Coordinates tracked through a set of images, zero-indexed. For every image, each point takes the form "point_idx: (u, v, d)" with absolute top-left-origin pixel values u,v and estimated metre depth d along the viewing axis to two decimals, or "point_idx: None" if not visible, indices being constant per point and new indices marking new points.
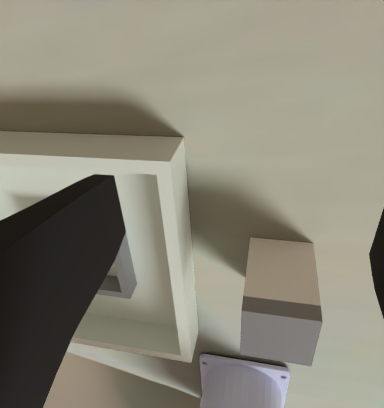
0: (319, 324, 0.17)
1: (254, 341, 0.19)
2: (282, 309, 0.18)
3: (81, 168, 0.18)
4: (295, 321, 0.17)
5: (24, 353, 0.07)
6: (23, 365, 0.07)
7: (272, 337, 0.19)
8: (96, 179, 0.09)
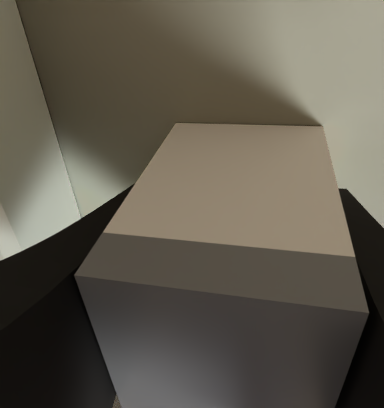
0: (356, 324, 0.04)
1: (146, 376, 0.06)
2: (218, 270, 0.05)
3: None
4: (261, 313, 0.05)
5: (96, 366, 0.06)
6: (95, 379, 0.06)
7: (194, 366, 0.06)
8: None
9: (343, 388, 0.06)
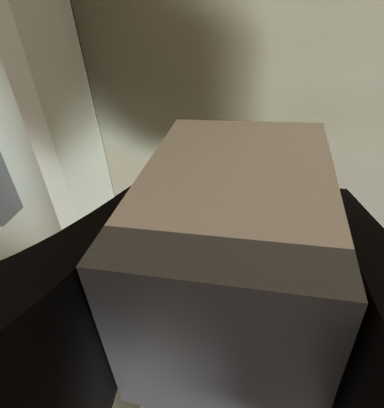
0: (354, 315, 0.04)
1: (147, 368, 0.06)
2: (218, 262, 0.05)
3: None
4: (261, 305, 0.05)
5: (95, 366, 0.06)
6: (94, 379, 0.06)
7: (195, 358, 0.06)
8: None
9: (343, 388, 0.06)
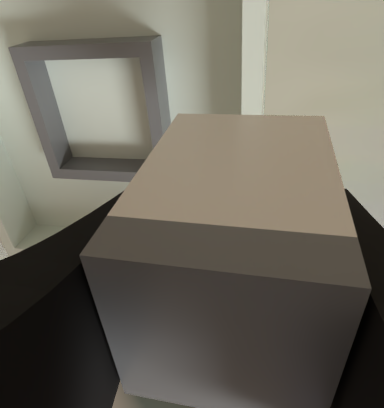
0: (358, 300, 0.04)
1: (150, 359, 0.06)
2: (222, 250, 0.05)
3: None
4: (265, 291, 0.05)
5: (95, 366, 0.06)
6: (94, 379, 0.06)
7: (198, 348, 0.06)
8: None
9: (343, 388, 0.06)
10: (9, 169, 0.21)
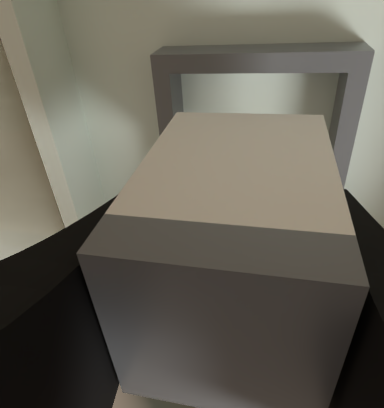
0: (356, 299, 0.04)
1: (147, 358, 0.06)
2: (219, 248, 0.05)
3: None
4: (262, 290, 0.05)
5: (96, 366, 0.06)
6: (95, 379, 0.06)
7: (195, 347, 0.06)
8: None
9: (343, 388, 0.06)
10: (102, 203, 0.17)
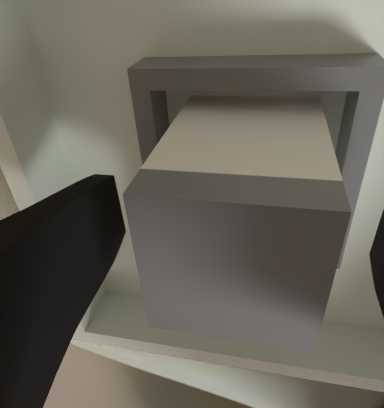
0: (341, 223, 0.06)
1: (173, 290, 0.08)
2: (235, 189, 0.06)
3: None
4: (270, 219, 0.06)
5: (24, 353, 0.07)
6: (23, 365, 0.07)
7: (214, 276, 0.07)
8: (96, 179, 0.09)
9: None
10: None
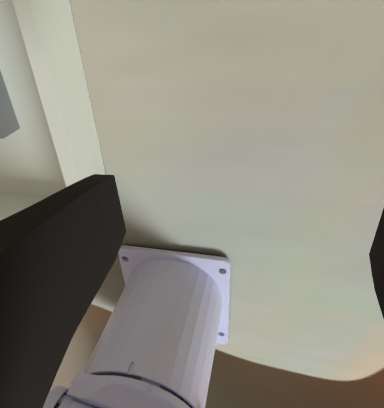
0: None
1: None
2: None
3: None
4: None
5: (24, 353, 0.07)
6: (23, 365, 0.07)
7: None
8: (96, 179, 0.09)
9: None
10: None
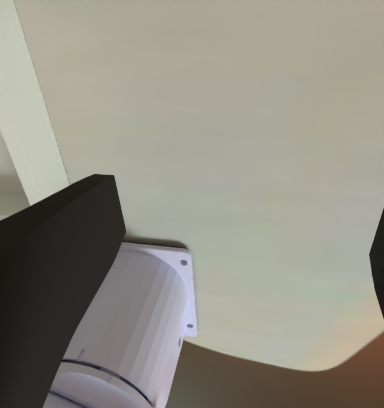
0: None
1: None
2: None
3: None
4: None
5: (24, 353, 0.07)
6: (23, 365, 0.07)
7: None
8: (96, 179, 0.09)
9: None
10: None
